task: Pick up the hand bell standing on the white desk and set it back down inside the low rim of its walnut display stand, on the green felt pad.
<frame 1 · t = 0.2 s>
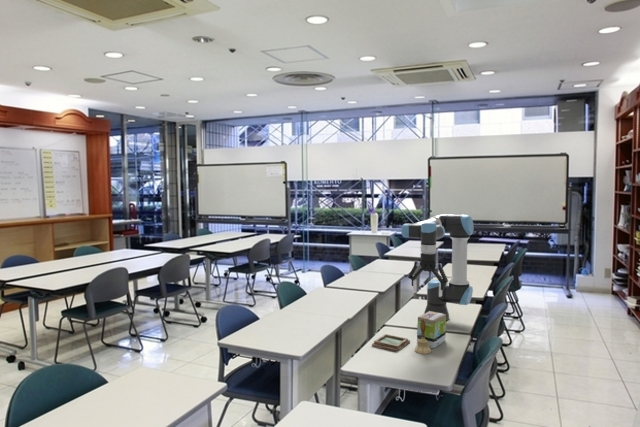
hand: (427, 294, 226), 27 cm above the table, fingers open, 13 cm apart
tea box: (431, 343, 234), on the table
stand: (391, 344, 232), on the table
hand bell: (423, 351, 223), on the table
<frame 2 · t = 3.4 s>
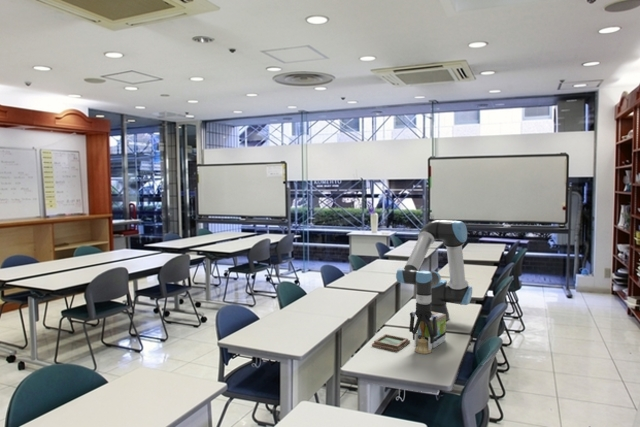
hand: (423, 347, 223), 2 cm above the table, fingers closed on hand bell, 7 cm apart
hand bell: (423, 351, 223), on the table, touching gripper
everything else where it was.
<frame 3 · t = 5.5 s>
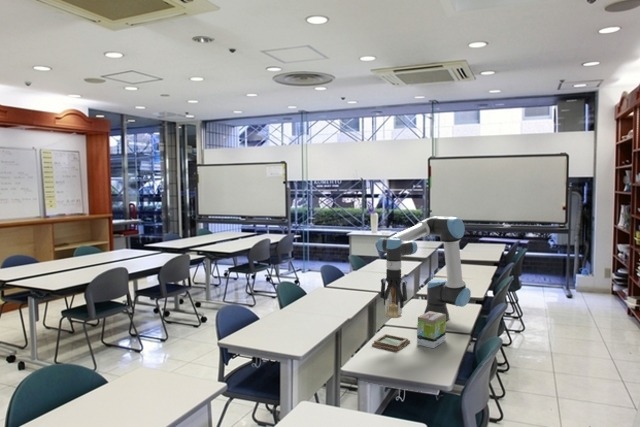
hand: (393, 312, 230), 17 cm above the table, fingers closed on hand bell, 7 cm apart
hand bell: (393, 316, 230), point 15 cm above the table, touching gripper
everything else where it was.
when the fingers open (4 cm above the table, at t = 8.0 s): hand bell drops 2 cm, resting on stand.
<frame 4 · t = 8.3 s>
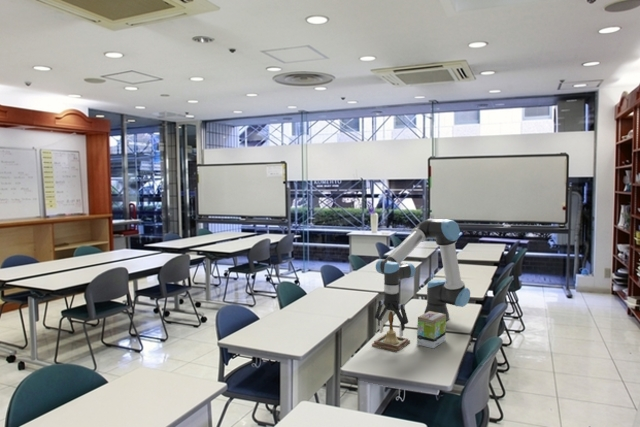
hand: (391, 334, 231), 5 cm above the table, fingers open, 10 cm apart
hand bell: (391, 342, 231), point 1 cm above the table, touching stand
everything else where it was.
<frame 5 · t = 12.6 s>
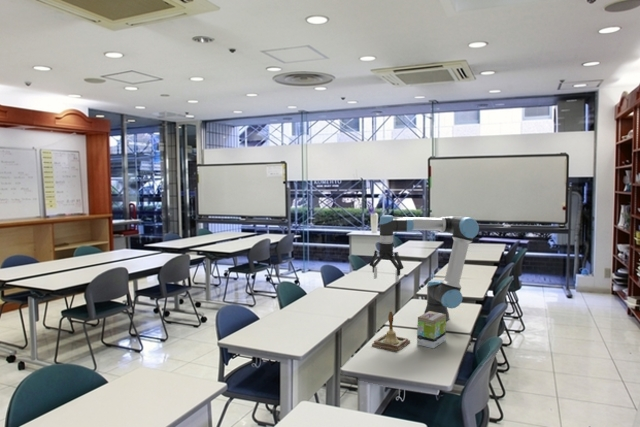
hand: (386, 279, 253), 29 cm above the table, fingers open, 13 cm apart
nothing on the table moved.
at the end: hand bell inside the target area on the stand (0.0 cm from its centre), point 1.1 cm above the stand's base; hand bell tilted 0°; the gripper is holding nothing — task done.
